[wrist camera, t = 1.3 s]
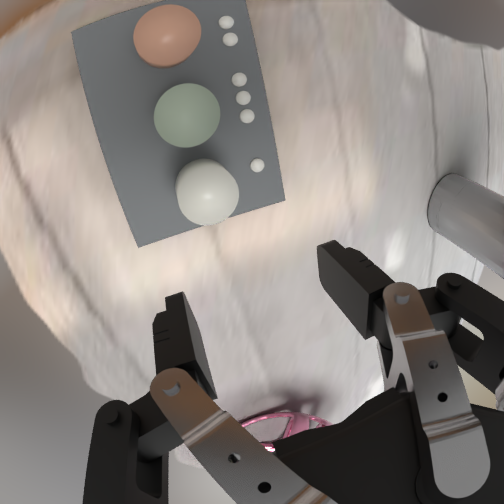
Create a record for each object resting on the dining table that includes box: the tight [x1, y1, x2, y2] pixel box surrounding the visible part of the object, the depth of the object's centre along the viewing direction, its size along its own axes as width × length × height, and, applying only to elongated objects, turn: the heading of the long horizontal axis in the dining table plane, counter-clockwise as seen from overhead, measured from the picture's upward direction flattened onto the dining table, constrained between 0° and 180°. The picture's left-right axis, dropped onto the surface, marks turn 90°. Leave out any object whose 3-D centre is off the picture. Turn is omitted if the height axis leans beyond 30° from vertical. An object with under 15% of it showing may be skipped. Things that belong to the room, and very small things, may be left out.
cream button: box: [175, 159, 239, 225], centre depth 23 cm, size 4×4×3 cm
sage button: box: [154, 83, 220, 148], centre depth 20 cm, size 4×4×3 cm
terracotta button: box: [133, 4, 201, 68], centre depth 16 cm, size 4×4×3 cm
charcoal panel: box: [71, 0, 285, 248], centre depth 23 cm, size 14×20×2 cm
